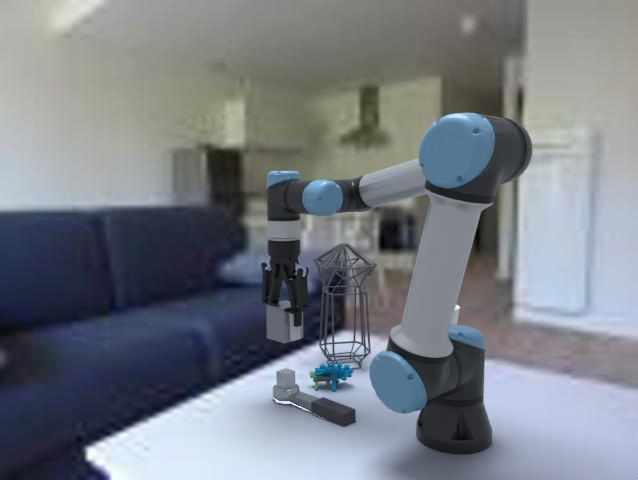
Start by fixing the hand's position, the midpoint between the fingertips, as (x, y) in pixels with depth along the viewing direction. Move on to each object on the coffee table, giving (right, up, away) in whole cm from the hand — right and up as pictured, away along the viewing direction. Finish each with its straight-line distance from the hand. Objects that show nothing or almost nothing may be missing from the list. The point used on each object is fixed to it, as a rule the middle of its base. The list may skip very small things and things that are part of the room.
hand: (285, 336), depth 133 cm
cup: (+41, -14, +23) cm, 49 cm away
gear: (+11, -15, +13) cm, 23 cm away
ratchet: (+6, -17, -1) cm, 18 cm away
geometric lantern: (+15, -13, +29) cm, 35 cm away
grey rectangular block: (0, 0, 0) cm, 0 cm away
